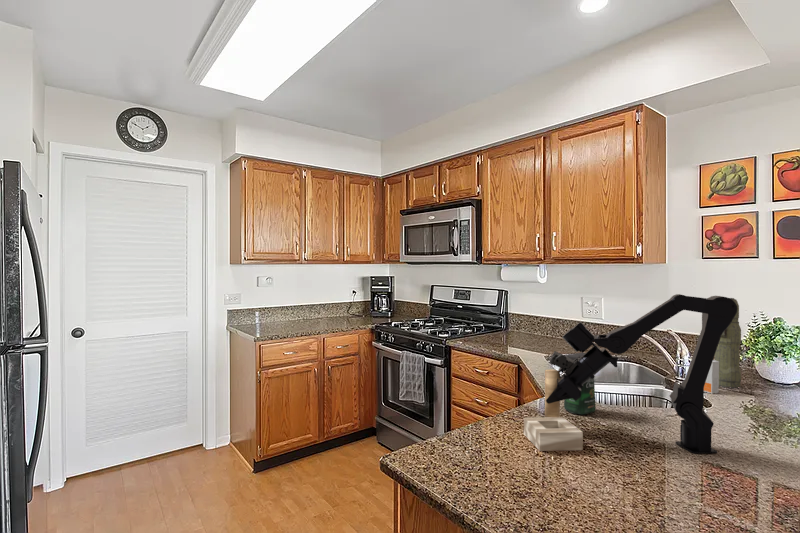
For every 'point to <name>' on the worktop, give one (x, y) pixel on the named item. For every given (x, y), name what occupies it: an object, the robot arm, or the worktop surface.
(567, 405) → the coffee jar
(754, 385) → the worktop surface
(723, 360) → the thermos
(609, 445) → the worktop surface
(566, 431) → the socket block
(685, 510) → the worktop surface
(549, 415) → the wooden stick
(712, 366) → the skincare box
